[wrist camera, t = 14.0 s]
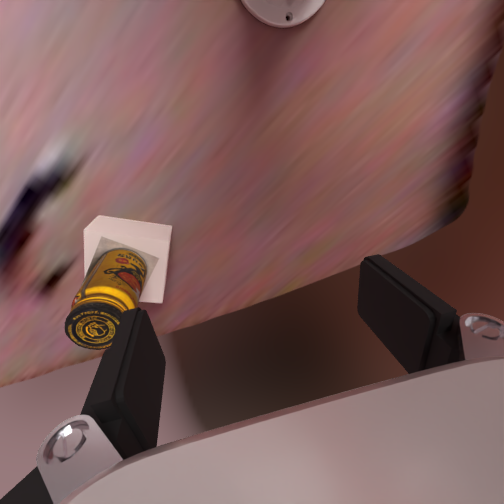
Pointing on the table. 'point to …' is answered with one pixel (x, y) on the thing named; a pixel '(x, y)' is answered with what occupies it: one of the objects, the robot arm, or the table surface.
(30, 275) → the table surface
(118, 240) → the cream block
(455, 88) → the table surface
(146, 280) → the condiment
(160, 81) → the table surface
